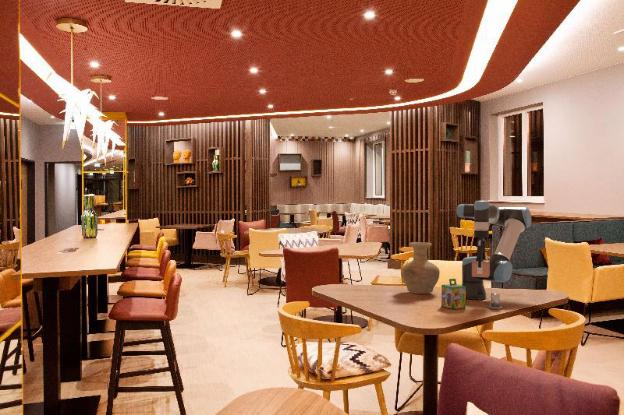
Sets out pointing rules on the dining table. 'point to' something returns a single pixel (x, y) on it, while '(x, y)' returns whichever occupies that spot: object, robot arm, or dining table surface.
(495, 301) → the stud
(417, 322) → the dining table surface
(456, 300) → the chalk box
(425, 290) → the vase
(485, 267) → the terracotta cube
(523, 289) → the dining table surface
